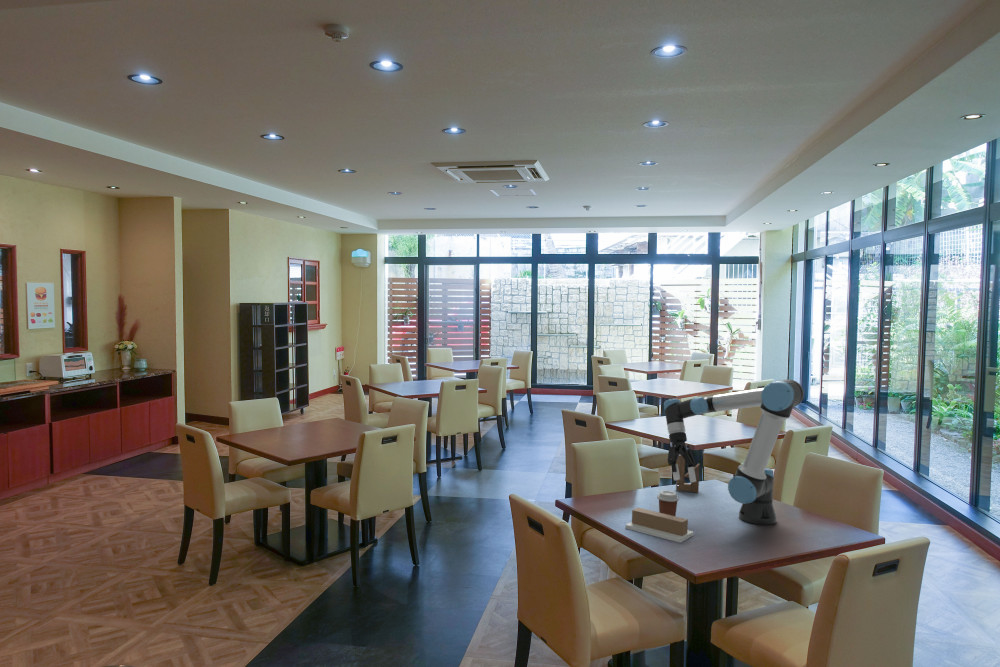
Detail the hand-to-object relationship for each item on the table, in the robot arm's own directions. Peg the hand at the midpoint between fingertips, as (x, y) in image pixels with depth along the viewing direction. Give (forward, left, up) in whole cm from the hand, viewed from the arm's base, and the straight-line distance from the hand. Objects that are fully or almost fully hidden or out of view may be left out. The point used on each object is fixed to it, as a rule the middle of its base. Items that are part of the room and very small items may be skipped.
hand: (685, 481), depth 284 cm
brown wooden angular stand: (+17, -42, -16) cm, 48 cm away
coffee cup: (+3, +10, -16) cm, 19 cm away
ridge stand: (-1, +26, -16) cm, 31 cm away
